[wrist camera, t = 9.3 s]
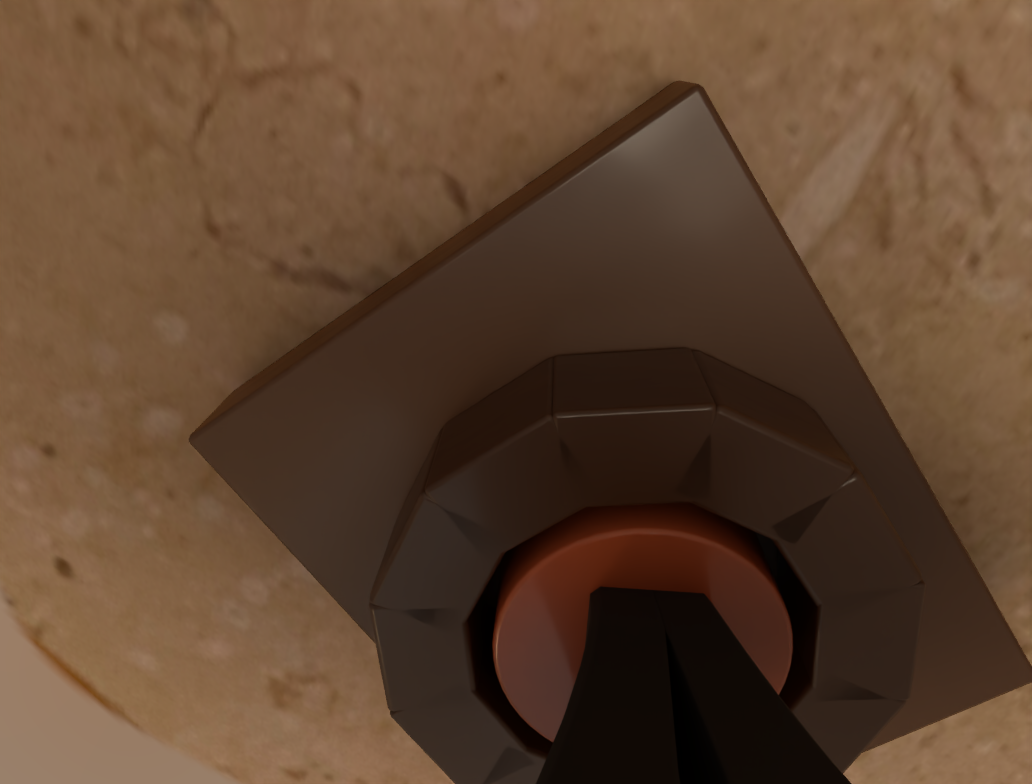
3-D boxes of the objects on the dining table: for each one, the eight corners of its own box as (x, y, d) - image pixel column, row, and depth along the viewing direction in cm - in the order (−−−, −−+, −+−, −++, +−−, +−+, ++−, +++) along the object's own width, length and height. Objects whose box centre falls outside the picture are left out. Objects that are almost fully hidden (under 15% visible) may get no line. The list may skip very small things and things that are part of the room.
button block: (231, 392, 12) (115, 510, 9) (678, 77, 10) (733, 86, 7) (580, 788, 15) (586, 982, 12) (984, 607, 13) (1121, 785, 10)
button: (450, 538, 11) (432, 620, 9) (675, 408, 10) (698, 475, 8) (591, 705, 12) (595, 804, 10) (805, 601, 11) (848, 694, 9)
